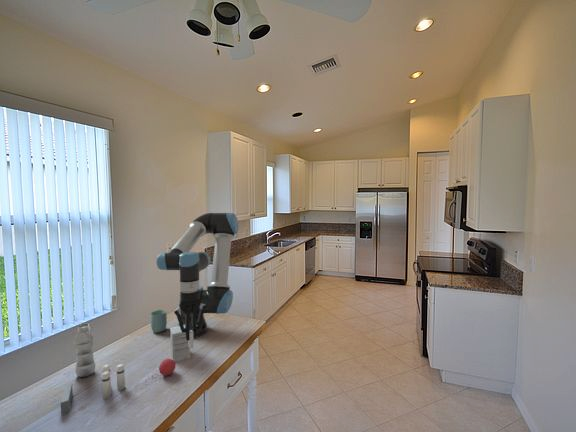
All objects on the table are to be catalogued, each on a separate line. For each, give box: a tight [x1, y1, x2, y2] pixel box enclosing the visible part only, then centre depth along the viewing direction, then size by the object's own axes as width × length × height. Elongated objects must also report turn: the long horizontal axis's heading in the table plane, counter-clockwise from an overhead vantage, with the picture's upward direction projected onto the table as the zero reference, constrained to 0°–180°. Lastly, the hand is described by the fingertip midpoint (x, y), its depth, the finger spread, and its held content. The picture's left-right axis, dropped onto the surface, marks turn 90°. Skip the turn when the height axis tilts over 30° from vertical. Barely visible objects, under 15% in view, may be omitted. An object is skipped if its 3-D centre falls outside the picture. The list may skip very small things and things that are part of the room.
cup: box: [149, 309, 168, 334], centre depth 152 cm, size 8×8×10 cm
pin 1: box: [101, 363, 112, 389], centre depth 106 cm, size 2×2×8 cm
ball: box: [158, 358, 176, 376], centre depth 115 cm, size 6×6×6 cm
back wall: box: [60, 383, 74, 415], centre depth 98 cm, size 2×10×4 cm, turn 31°
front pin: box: [116, 363, 126, 391], centre depth 106 cm, size 2×2×8 cm
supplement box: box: [170, 325, 191, 363], centre depth 128 cm, size 7×7×13 cm
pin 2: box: [101, 371, 112, 400], centre depth 102 cm, size 2×2×8 cm
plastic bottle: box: [73, 323, 97, 378], centre depth 115 cm, size 6×7×20 cm
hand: (191, 346), depth 119 cm, fingers closed
